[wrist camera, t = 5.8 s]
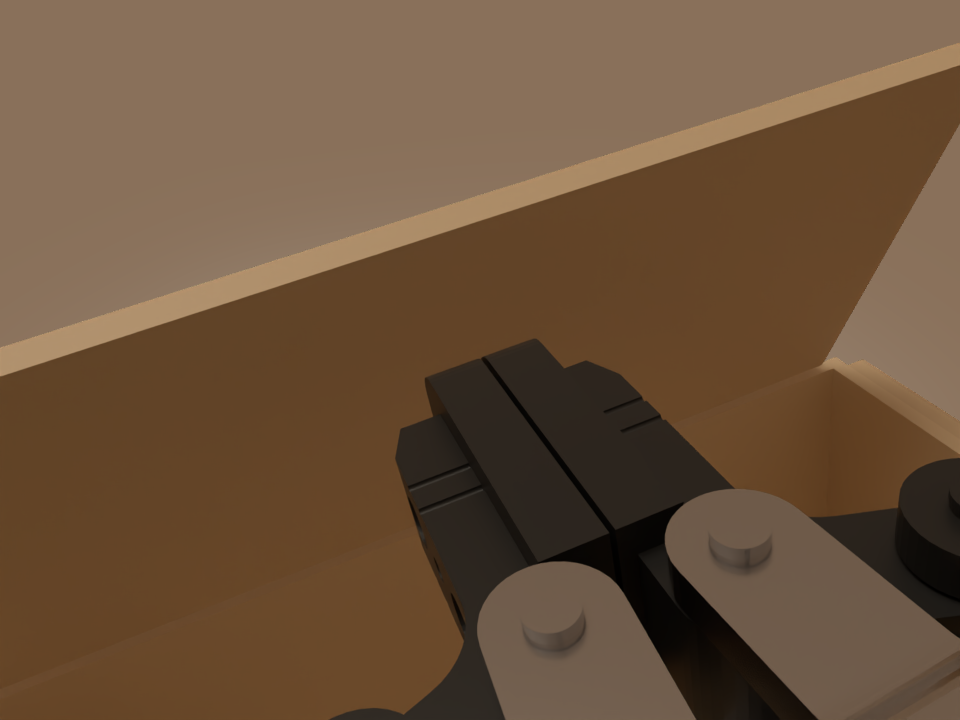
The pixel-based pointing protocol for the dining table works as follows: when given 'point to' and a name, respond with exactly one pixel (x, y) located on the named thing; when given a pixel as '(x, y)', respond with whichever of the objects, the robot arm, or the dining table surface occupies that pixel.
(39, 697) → the carton
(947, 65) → the carton flap
